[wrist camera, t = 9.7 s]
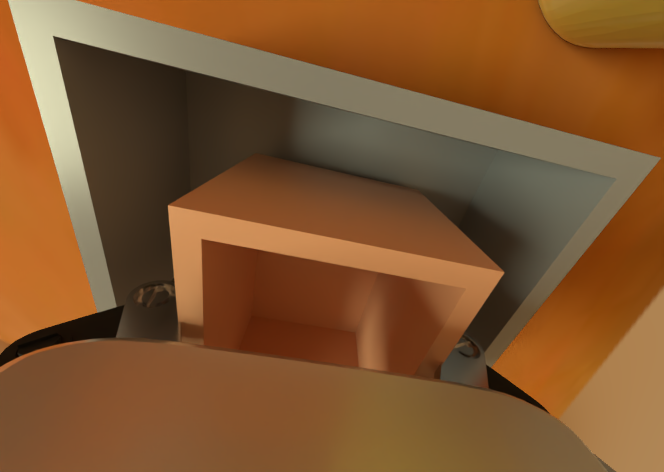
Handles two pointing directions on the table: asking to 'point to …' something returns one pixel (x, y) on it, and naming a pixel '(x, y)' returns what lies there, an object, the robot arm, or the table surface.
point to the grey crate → (297, 151)
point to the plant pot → (607, 22)
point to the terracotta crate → (324, 268)
